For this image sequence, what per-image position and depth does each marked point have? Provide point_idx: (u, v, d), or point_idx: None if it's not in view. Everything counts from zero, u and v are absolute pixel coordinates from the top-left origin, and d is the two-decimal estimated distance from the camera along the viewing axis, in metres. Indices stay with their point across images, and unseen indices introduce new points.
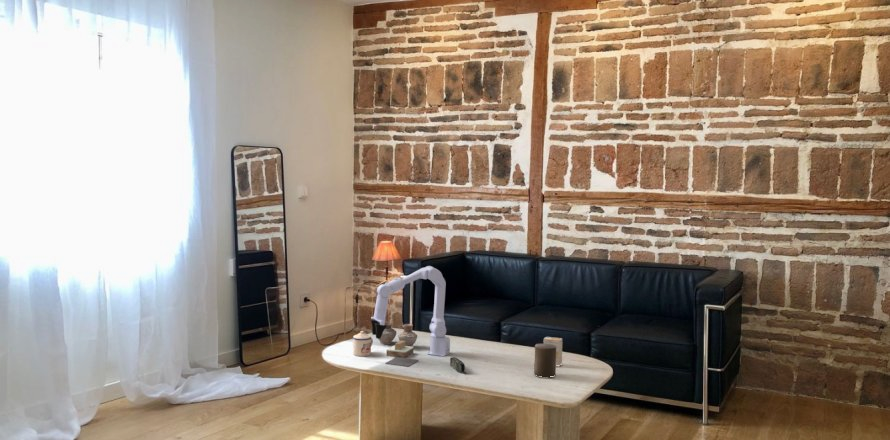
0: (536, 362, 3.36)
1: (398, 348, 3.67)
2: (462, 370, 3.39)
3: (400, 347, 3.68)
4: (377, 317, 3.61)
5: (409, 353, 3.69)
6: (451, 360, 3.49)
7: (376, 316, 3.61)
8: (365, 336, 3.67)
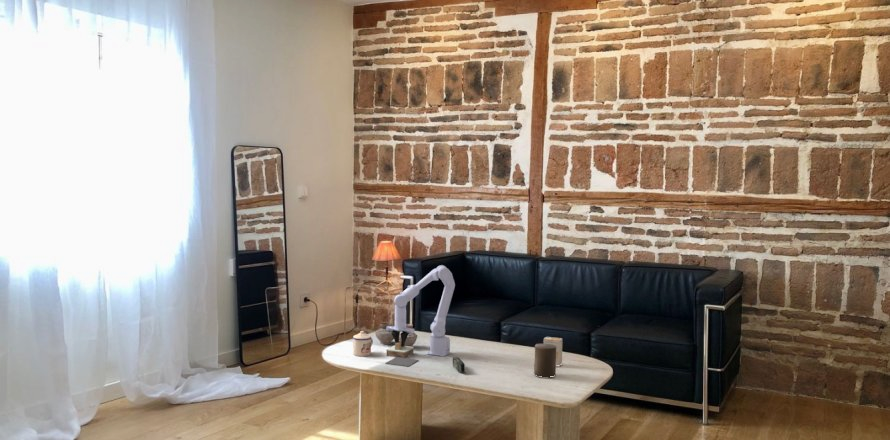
0: (536, 362, 3.36)
1: (398, 348, 3.67)
2: (462, 370, 3.39)
3: (400, 347, 3.68)
4: (403, 327, 3.67)
5: (409, 353, 3.69)
6: (453, 360, 3.49)
7: (401, 327, 3.67)
8: (365, 336, 3.67)
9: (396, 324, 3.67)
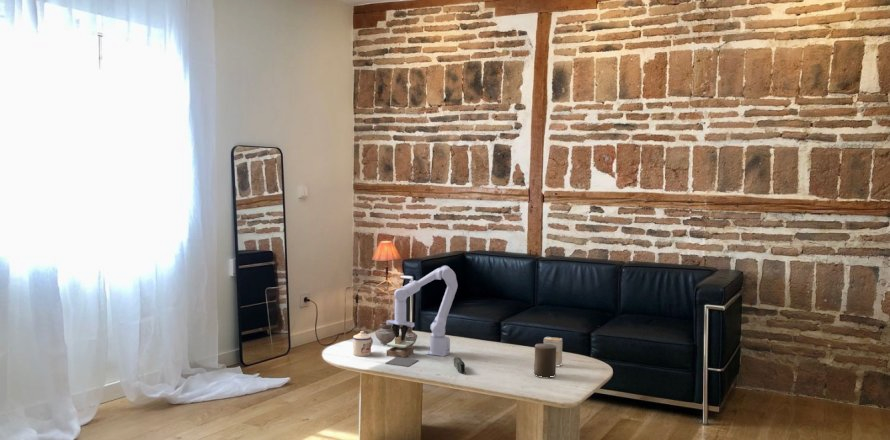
0: (536, 362, 3.36)
1: (398, 342, 3.67)
2: (462, 370, 3.39)
3: (400, 341, 3.68)
4: (403, 321, 3.67)
5: (409, 353, 3.69)
6: (454, 360, 3.49)
7: (401, 321, 3.67)
8: (365, 336, 3.67)
9: (396, 318, 3.67)
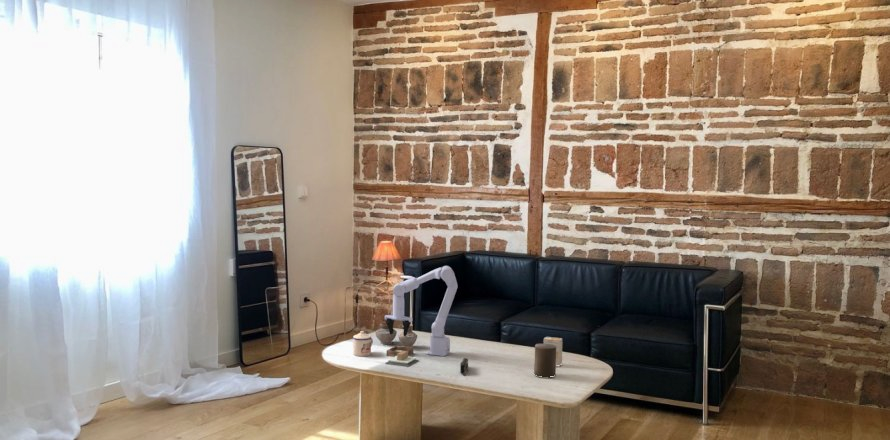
0: (536, 362, 3.36)
1: (400, 359, 3.54)
2: (462, 371, 3.37)
3: (402, 358, 3.54)
4: (401, 316, 3.69)
5: (409, 353, 3.69)
6: None
7: (400, 315, 3.69)
8: (365, 336, 3.67)
9: (394, 313, 3.69)
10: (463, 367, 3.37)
